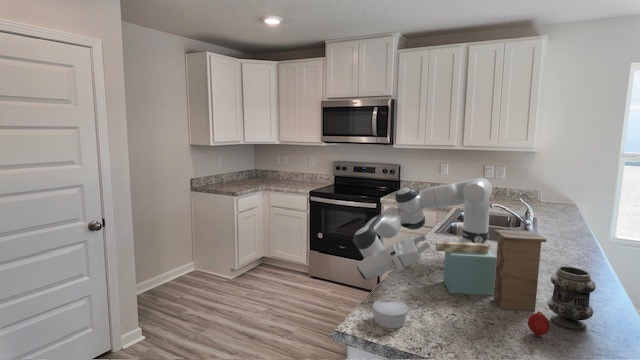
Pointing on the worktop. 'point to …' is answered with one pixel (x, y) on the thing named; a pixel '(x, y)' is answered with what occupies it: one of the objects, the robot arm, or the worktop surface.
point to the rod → (462, 247)
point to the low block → (470, 272)
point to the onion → (538, 324)
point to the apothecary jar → (571, 298)
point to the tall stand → (517, 269)
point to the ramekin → (390, 313)
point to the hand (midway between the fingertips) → (426, 240)
